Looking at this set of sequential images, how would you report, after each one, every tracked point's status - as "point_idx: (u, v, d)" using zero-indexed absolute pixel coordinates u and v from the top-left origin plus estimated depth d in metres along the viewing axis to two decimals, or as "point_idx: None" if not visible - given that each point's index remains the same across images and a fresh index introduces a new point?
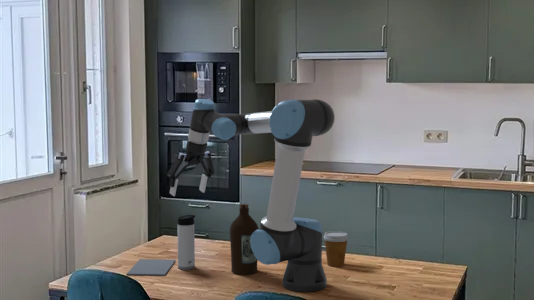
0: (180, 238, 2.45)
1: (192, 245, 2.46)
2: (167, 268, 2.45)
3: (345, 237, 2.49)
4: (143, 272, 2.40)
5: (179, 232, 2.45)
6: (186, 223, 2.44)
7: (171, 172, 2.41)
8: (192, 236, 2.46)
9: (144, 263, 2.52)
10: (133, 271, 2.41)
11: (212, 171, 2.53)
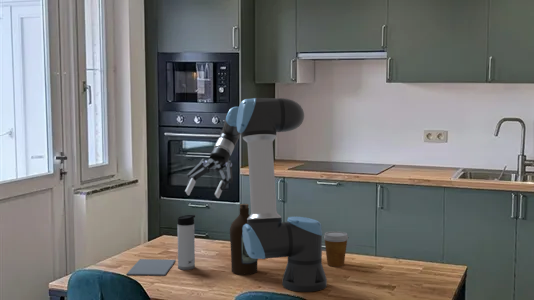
0: (180, 238, 2.45)
1: (192, 245, 2.46)
2: (167, 268, 2.45)
3: (345, 237, 2.49)
4: (143, 272, 2.40)
5: (179, 232, 2.45)
6: (186, 223, 2.44)
7: None
8: (192, 236, 2.46)
9: (144, 263, 2.52)
10: (133, 271, 2.41)
11: (228, 176, 2.55)
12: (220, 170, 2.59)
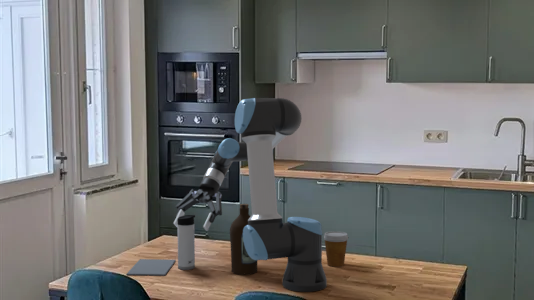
0: (180, 238, 2.45)
1: (192, 245, 2.46)
2: (167, 268, 2.45)
3: (345, 237, 2.49)
4: (143, 272, 2.40)
5: (179, 232, 2.45)
6: (186, 223, 2.44)
7: None
8: (192, 236, 2.46)
9: (144, 263, 2.52)
10: (133, 271, 2.41)
11: (217, 208, 2.51)
12: (209, 202, 2.54)
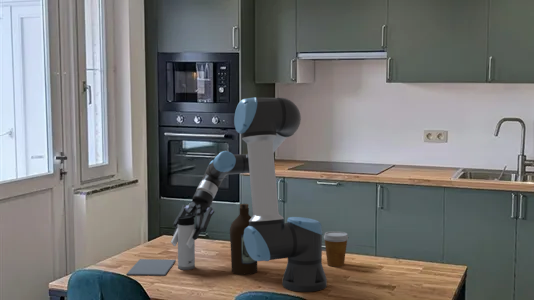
0: (180, 238, 2.45)
1: (192, 245, 2.46)
2: (167, 268, 2.45)
3: (345, 237, 2.49)
4: (143, 272, 2.40)
5: (179, 232, 2.45)
6: (186, 223, 2.44)
7: None
8: None
9: (144, 263, 2.52)
10: (133, 271, 2.41)
11: (202, 225, 2.46)
12: (198, 216, 2.49)
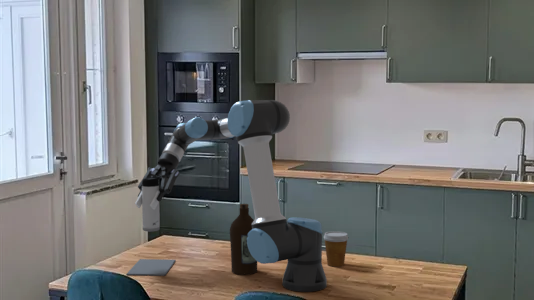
0: (145, 200, 2.43)
1: None
2: (167, 268, 2.45)
3: (345, 237, 2.49)
4: (143, 272, 2.40)
5: (143, 193, 2.43)
6: (150, 184, 2.42)
7: None
8: None
9: (144, 263, 2.52)
10: (133, 271, 2.41)
11: (166, 186, 2.44)
12: (163, 178, 2.48)
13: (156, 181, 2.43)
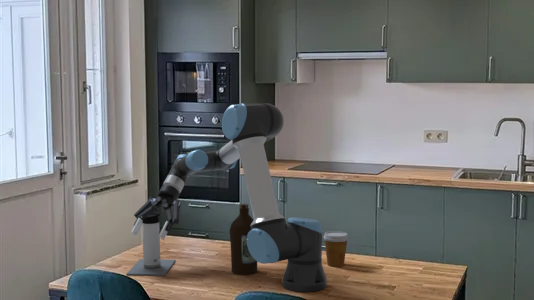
0: (145, 237, 2.45)
1: (157, 243, 2.45)
2: (167, 268, 2.45)
3: (345, 237, 2.49)
4: (143, 272, 2.40)
5: (144, 230, 2.45)
6: (150, 221, 2.44)
7: None
8: (157, 234, 2.45)
9: None
10: (133, 271, 2.41)
11: (174, 217, 2.45)
12: (167, 209, 2.49)
13: (156, 218, 2.45)
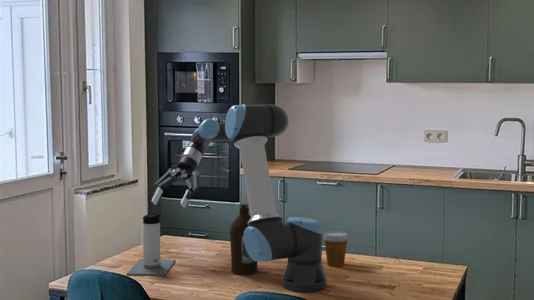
0: (146, 237, 2.44)
1: (157, 243, 2.45)
2: (167, 268, 2.45)
3: (345, 237, 2.49)
4: (143, 272, 2.40)
5: (144, 231, 2.45)
6: (151, 221, 2.44)
7: None
8: (157, 235, 2.45)
9: None
10: (133, 271, 2.41)
11: (194, 186, 2.55)
12: (187, 179, 2.59)
13: (157, 218, 2.45)
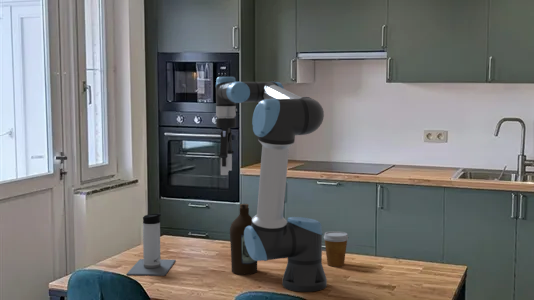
0: (146, 237, 2.44)
1: (157, 243, 2.45)
2: (167, 268, 2.45)
3: (345, 237, 2.49)
4: (143, 272, 2.40)
5: (144, 231, 2.45)
6: (151, 221, 2.44)
7: None
8: (157, 235, 2.45)
9: None
10: (133, 271, 2.41)
11: (220, 152, 2.45)
12: None
13: (157, 218, 2.45)
